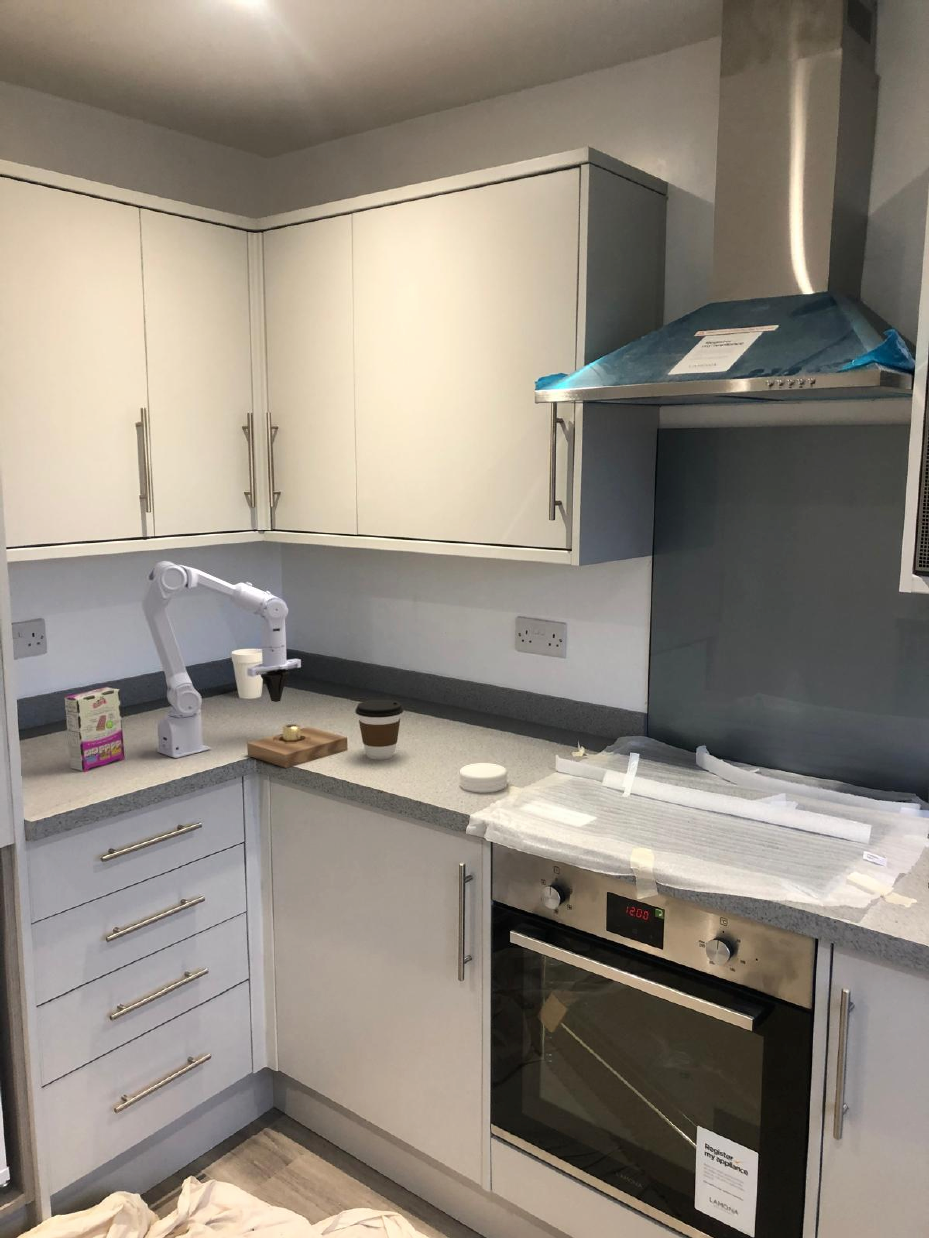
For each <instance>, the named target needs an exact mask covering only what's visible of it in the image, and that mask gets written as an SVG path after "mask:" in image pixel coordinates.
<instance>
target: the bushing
mask: <svg viewBox="0 0 929 1238" xmlns="http://www.w3.org/2000/svg"><path fill="white" fill-rule="evenodd" d="M300 729H301V725H300V724H298V723H287V724H283V725H282V734H283V742H298V741H301V736H300Z"/></svg>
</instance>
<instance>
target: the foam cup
mask: <svg viewBox="0 0 929 1238" xmlns="http://www.w3.org/2000/svg"><path fill="white" fill-rule="evenodd" d="M231 661H232V663H233V664H232V665H233V671H234V677H235V682H236V687H237V694H238V698H239V699H246V700H248V699H249V700H251V699H257V698H261V697H262V694H263V693H262V692H263V683H264V681H263V679H262V677H261V675H256V676H255V677H251V676H247V668H249V667H253V666H256V665H259V664H262V648H242V649H235V650H232V651H231Z"/></svg>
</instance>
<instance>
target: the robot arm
mask: <svg viewBox="0 0 929 1238" xmlns="http://www.w3.org/2000/svg"><path fill="white" fill-rule="evenodd" d="M196 587H200V588H202V589H205V590H207V591H210V592H213V593H216V594H218V595H221V596H223V597H227V598H228V599H229V601H230V604H231V605H232V606H234V607H237V608H239V609H242V610H244V611H246V612H249V613H252V614H254V615H259V616H260V621H261V622H260V623H261V625H260V631H261V632H260V633H261V635H260V636H261V649H262V664H259V665H256V666H253V667H249V668H247V676H251V677H255V676H256V675H261V677H262V679H263V683H264V684H265V686H266V688H267V691H268V694H269V698H270V701H271V702H274V703H278V702H279V703H280V702H281V700H282V695H283V691H284V687H285V685H286V682H287V680H288V678H289V677H290V671H288V670H291V669H296V668H297V669H298V668H301V667H302V660H301V659H299V658H291V659H287V638H286V637H287V636H286V633H287V632H286V618H287V616H288V614H289V608H288V606H287V603H286V602H285V600H284V599H282V598H280V597H278V596H275V595H274V594H273V593H271V592H270V591H268V590H265V591H263V590H261V589H258V588H256V587H253V584H252V583H251V582H248V581H246V582H245V583H244V582H239V583H236V584H231V583H230V582H227V581H224V580H223V579H220V578H218V577H215V576H213V575H211V574H208V573H206V572H204V571H202V570H200V569H197V568H194V567H191V566H185V565H183V564H178V563H177V564H175V563H174V562H172V561H168V560H163V561H160V562H158V563H156V564H155V565H154V567H153V568H152V569H151V571H150V572H149V573H148V575H147V578H146V585H145V588H144V593H143V595H142V600H141V608H142V610H143V613H144V616H145V619H146V622H147V626H148V628H149V631H150V634H151V637H152V640H153V643H154V646H155V649H156V651H157V655H158V657H159V660H160V664H161V667H162V670H163V672H164V675H165V682H166V685H167V692H166V699H167V701H168V703H169V704H170V705H171V707H170V708H169V710H168V714H167V716H165V717H162V718H161V719H159V721H158V723H157V739H158V741H157V743H158V749H157V753H160V754H163V755H165V756H168V757H171V758H174V759H178V758H181V757H186V756H188V755H189V756H190V755H192V754H197V753H201V752H205V751H209V750H211V747H210V746H208V745H204V744H203V728H202V726H203V725H202V709H201V706H202V705H203V699H202V696H201V694H200V693H199V692H198V691H197V690H196V689H195V687H194V686H193V682H192V679H191V677H190V676H189V674H188V671H187V668H186V666H185V662H184V660H183V657H182V654H181V650H180V648H179V645H178V641H177V639H176V636H175V632H174V629H173V627H172V624H171V621H170V617H169V615H168V611H167V606H169V604H170V602H171V600H172V599H173V597H175V596H176V595H177V594H178V593H179V592H181V590H183V589H184V588H186V589H192V588H196Z"/></svg>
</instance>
